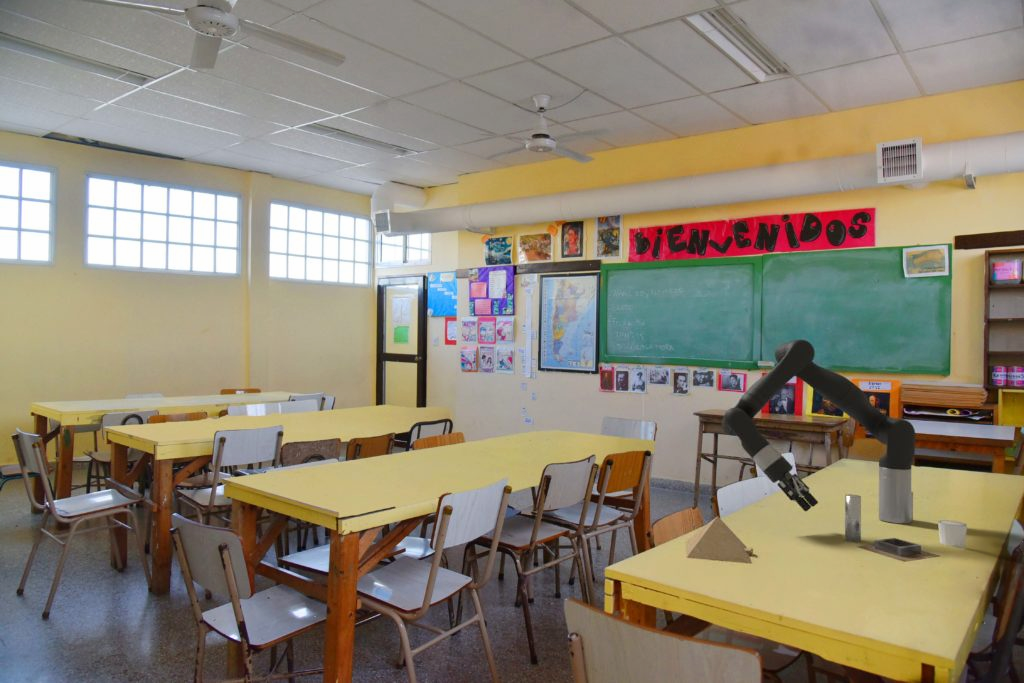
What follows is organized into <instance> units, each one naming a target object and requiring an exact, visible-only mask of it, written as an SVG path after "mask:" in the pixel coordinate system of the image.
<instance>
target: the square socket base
mask: <svg viewBox="0 0 1024 683" xmlns="http://www.w3.org/2000/svg"><path fill="white" fill-rule="evenodd" d="M856 548H859V549H862V550H866V551H869V552H872V553H874V554H878V555H882V556H883V557H887V558H892V559H894V560H897V561H901V562H903V563H905V562H912V561H917V560H924V559H925V560H926V559H930V558H931V559H932V558H938V557H939V558H940V555H939V554H936V553H932V552H929V551H925V550H922V544H918V543H915V542H911V541H908V540H907V541H906V540H904V539H901V538H900V539H899V538H898V537H897V538H896V537H893V538H892V537H891V538H884V539H876V540H874V543H873V544H866V545H860V546H856Z"/></svg>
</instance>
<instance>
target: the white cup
mask: <svg viewBox="0 0 1024 683" xmlns="http://www.w3.org/2000/svg"><path fill="white" fill-rule="evenodd" d="M937 523H938V525H937V526H938V534H939V543H940V544H942V545H945V546H950V547H955V548H960V549H964V550H965V549H966V538H967V532H968V531H967V530H968V524H966V523H964V522H961V521H955V520H947V519H946V520H945V519H942V520H938V521H937Z"/></svg>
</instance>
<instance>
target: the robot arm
mask: <svg viewBox="0 0 1024 683" xmlns="http://www.w3.org/2000/svg"><path fill="white" fill-rule="evenodd" d="M815 354H816V353H815V348H814V346H813V345H812V343H810V342H809V340H805V339H795V340H794V339H793V340H790V341H787V342H783V343H782V344H780V345H778V346H777V347H776V348H775V350H774V358H775V361H776V363H777V364H776V366H774V367H773V368H772V369H771V370H770V371H768V372H767V373H766V374H764V375H763V376H762V377H760V378H759V379H757V380H756V381H755V382H754V383H753V384H751V386H750V387H749V388H748V389H747V390H746V391H745V393H744V394H743V395H741V397H740V399H739V400H738V402H737V403H736V404H735V406H734V407H730V408H729V409H728V410H726V411H725V413H724V415H723V418H722V420H721V428H722V431H723V432H724V434H726V435H729V436H732V437H733V436H734V437H735V436H737V437H738V439H739V440H740V444H741V447H742V449H743V450H744V451H745V452H746V453H747V455H749V457H751V459H752V460H753V462H754V463H755V465H756V466H757V467H758V468H759V469H760V470H761V472H763V473H764V475H765V476H767V478H768V479H769V480H770V481H771V483H772V484H773V483H774V484H775V483H777V482H778V483H777V486H778V487H779V489H780V490H781V491H782V492H783V493H784V494H785V495H786V497H787V498H788V499H789V500H790V501H794V502H796V504H797V505H799V507H800V508H801V509H802V510H803V511H804V512H808V511H809V510H810V509H811V508H812V507H815V506H816V505H818V504H819V501H818V500H817V499H816V497H815V496H813V494H812V493H811V492H810V487H809V486H808V485H807V484H806V483H805V482H804V481H803V480H802V479H801V478H800V477H799V476H798V475H797V474H796V473H793V474H792V473H791V471H792V470H793V468H794V467H793V465H792V464H791V463H790V462H789V461H788V460H787V459H786V458H785V457H784V456H783V455H782V453H780V451H779V450H778V449H776V448H775V447H774V446H773V445H772V444H771V443H770V442H769V441H768V440H767V439H766V438H765V436H764V435H762V433H761V432H760V431H759V429H758V428H757V426H756V424H755V422H754V421H753V419H755V418H754V417H756V415H757V414H759V412H761V410H763V409H764V407H765V406H767V404H768V403H769V402H770V401H771V399H772V398H773V397H774V396H775V395H776V394H777V393H778V392H780V390H781V389H782V388H783V387H784V386H785V385H786V384H787V383H788V382H789V381H790V380H792V379H793V378H794V377H797V378H798V379H800V380H801V381H803V382H805V384H807V385H808V386H809V387H811V388H812V389H814V390H815V392H817V393H818V394H819V395H821V396H822V397H823V398H824V399H826V400H827V401H829V402H830V403H831V404H832V405H833V406H834V407H837V409H839V410H841V411H842V412H843V413H845V414H846V415H847V416H849V417H850V418H851V419H853V420H855V421H856V422H858V423H859V424H860V425H861V426H862V427H863V428H864V429H865V430H866V431H867V432H869V434H871V436H872V437H874V439H876V440H877V441H878V442H879V443H881V444H882V445H886V452H885V454H884V455H883V456H880V458H879V459H878V520H880V521H884V522H887V523H893V524H911V523H912V522H913V521H914V492H913V491H912V464H913V462H914V459H915V454H916V453H915V452H916V431H915V427H914V425H913V423H911V422H910V421H908V420H906V419H901V418H897V417H890V416H888V415H886V414H885V413H884V412H882V411H880V410H879V409H878V408H876V407H875V406H874V405H873V404H872V403H871V402H870V401H869V398H868V397H867V395H866V394H865V393H864V391H863V390H862V389H861V388H860V387H859V386H858V385H856V384H855V383H854V382H852V381H851V380H850V379H849V378H847V377H845V376H843V375H841V374H839V373H837V372H835V371H832V370H829V369H827V368H824V367H822V366H820V365H819V364H816V363H815V362H813V361H814V359H815V356H816V355H815Z"/></svg>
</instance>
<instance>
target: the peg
mask: <svg viewBox="0 0 1024 683" xmlns="http://www.w3.org/2000/svg"><path fill="white" fill-rule="evenodd" d="M844 509H845V510H844V540H845V541H847V542H851V543H860V542H862V496H861V495H858V494H851V493H849V494H845V495H844Z"/></svg>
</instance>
